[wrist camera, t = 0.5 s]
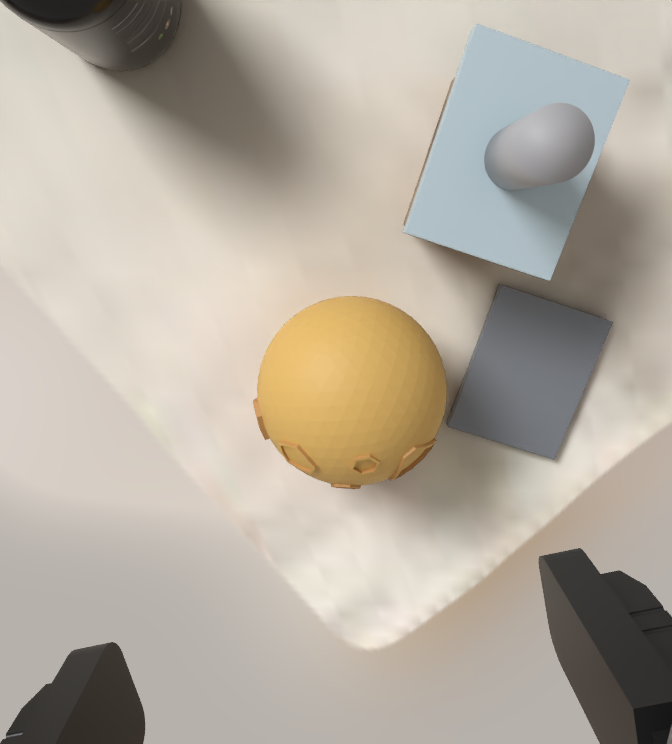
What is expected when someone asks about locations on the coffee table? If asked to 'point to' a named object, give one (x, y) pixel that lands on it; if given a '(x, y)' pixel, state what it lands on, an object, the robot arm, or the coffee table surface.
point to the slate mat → (528, 372)
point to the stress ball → (351, 392)
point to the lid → (514, 152)
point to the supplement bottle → (105, 28)
